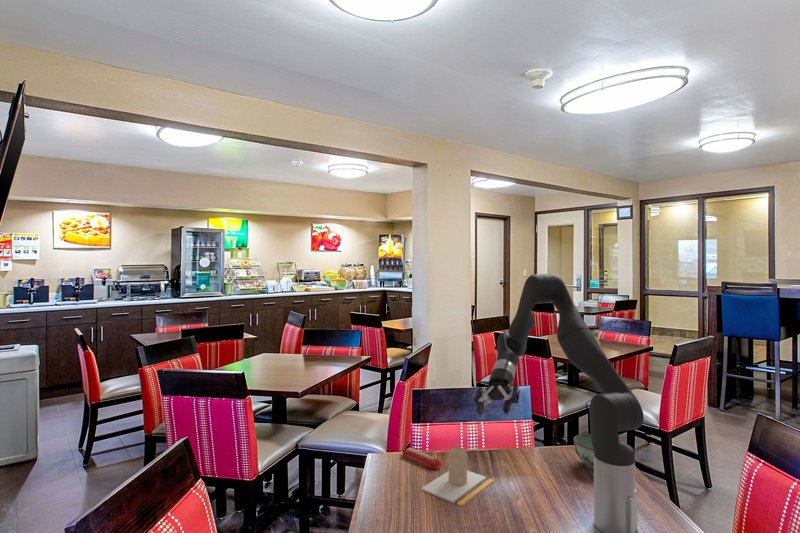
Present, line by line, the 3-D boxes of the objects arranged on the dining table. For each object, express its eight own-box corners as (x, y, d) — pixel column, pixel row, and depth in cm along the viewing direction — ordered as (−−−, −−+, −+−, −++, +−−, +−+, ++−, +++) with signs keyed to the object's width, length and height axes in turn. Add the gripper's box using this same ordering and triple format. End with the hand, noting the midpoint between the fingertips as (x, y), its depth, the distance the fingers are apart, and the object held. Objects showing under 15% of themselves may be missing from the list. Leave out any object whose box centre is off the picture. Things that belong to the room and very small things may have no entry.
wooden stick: (494, 481, 135) (494, 480, 135) (461, 506, 121) (461, 504, 121) (489, 479, 136) (489, 478, 136) (457, 504, 122) (457, 502, 122)
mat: (486, 478, 136) (486, 476, 136) (453, 502, 123) (453, 501, 123) (455, 468, 144) (455, 466, 144) (421, 489, 130) (421, 488, 130)
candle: (466, 486, 130) (466, 452, 130) (447, 485, 132) (447, 451, 131) (467, 478, 136) (467, 445, 136) (449, 476, 137) (449, 443, 137)
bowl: (565, 465, 145) (565, 440, 145) (585, 453, 154) (584, 430, 154) (607, 480, 135) (607, 454, 135) (626, 467, 144) (626, 442, 144)
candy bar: (400, 456, 153) (400, 447, 153) (408, 453, 156) (408, 444, 156) (435, 472, 141) (435, 462, 141) (443, 468, 144) (443, 459, 144)
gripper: (478, 369, 153) (466, 405, 140) (518, 365, 145) (509, 402, 132) (487, 385, 155) (475, 422, 143) (527, 382, 147) (518, 420, 135)
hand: (491, 412), depth 137 cm, fingers open, 8 cm apart
